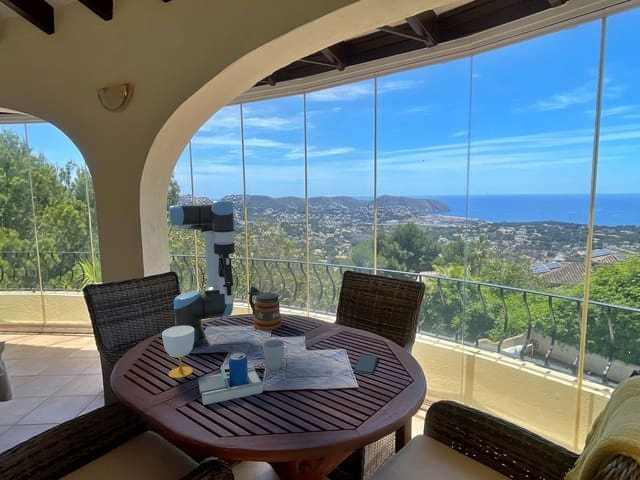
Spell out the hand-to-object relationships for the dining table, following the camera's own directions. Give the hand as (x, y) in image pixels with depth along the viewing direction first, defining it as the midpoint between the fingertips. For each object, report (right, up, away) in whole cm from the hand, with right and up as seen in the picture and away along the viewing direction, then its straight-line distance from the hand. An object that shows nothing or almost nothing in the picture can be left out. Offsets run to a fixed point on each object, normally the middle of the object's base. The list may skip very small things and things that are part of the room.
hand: (226, 298), depth 143 cm
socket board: (+4, -32, -8) cm, 33 cm away
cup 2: (+17, -29, +10) cm, 35 cm away
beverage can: (+6, -31, -7) cm, 33 cm away
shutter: (-2, -29, -10) cm, 31 cm away
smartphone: (+54, -30, +12) cm, 63 cm away
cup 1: (-19, -30, +6) cm, 36 cm away
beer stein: (+6, -23, +58) cm, 62 cm away
